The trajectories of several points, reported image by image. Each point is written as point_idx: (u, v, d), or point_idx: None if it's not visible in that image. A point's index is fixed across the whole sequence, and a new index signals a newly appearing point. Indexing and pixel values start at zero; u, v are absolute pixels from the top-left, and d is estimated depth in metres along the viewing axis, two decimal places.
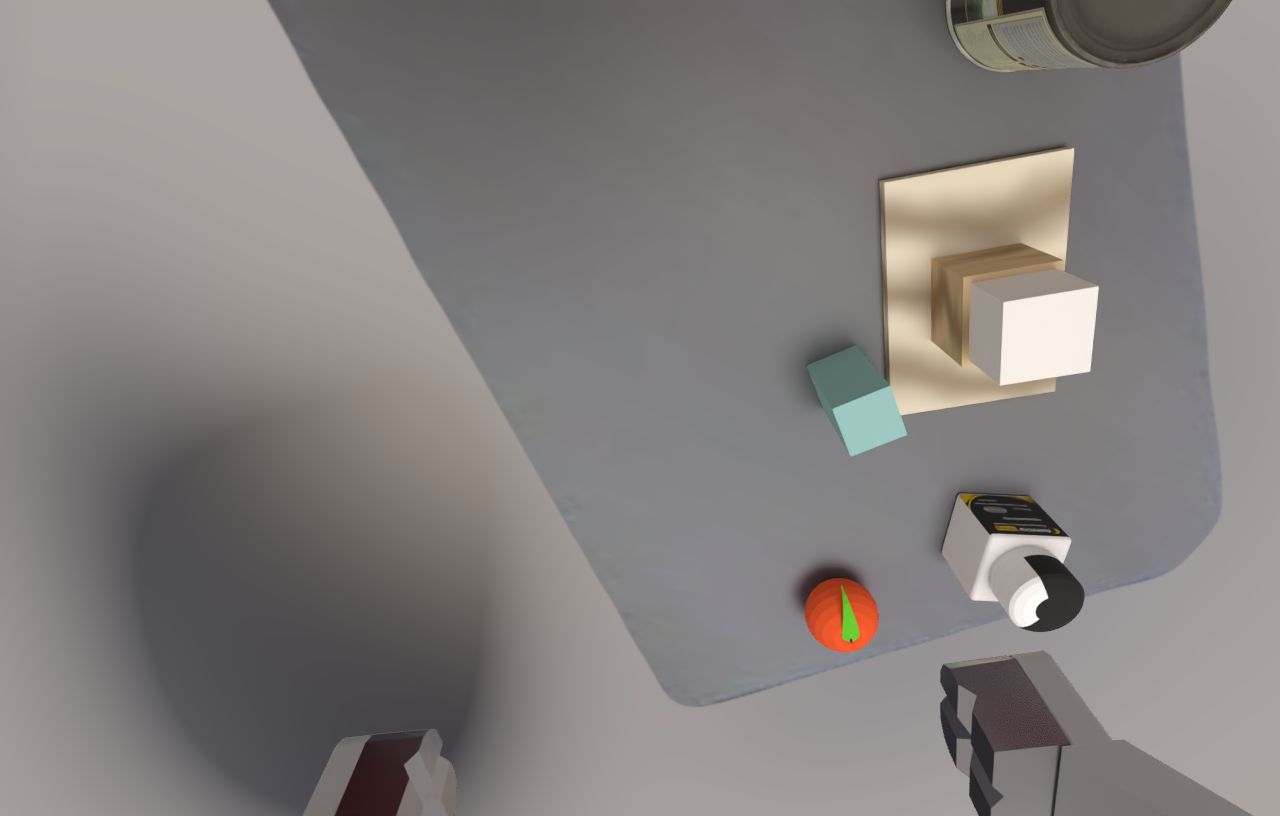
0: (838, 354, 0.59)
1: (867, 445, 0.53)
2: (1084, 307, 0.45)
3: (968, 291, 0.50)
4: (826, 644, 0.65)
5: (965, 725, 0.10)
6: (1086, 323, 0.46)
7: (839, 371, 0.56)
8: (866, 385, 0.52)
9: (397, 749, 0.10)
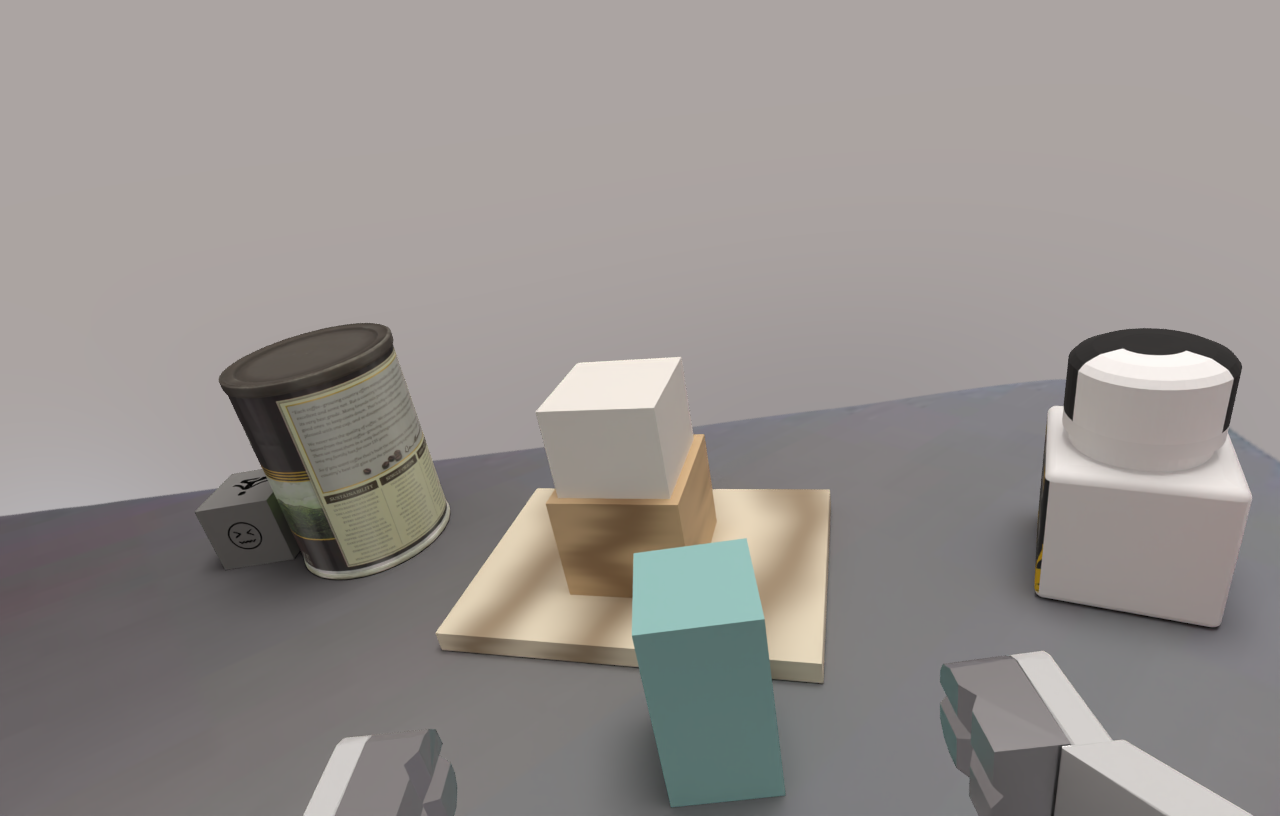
0: None
1: (745, 591, 0.24)
2: (594, 367, 0.37)
3: (568, 499, 0.35)
4: None
5: (965, 725, 0.10)
6: (615, 364, 0.37)
7: None
8: None
9: (397, 749, 0.10)
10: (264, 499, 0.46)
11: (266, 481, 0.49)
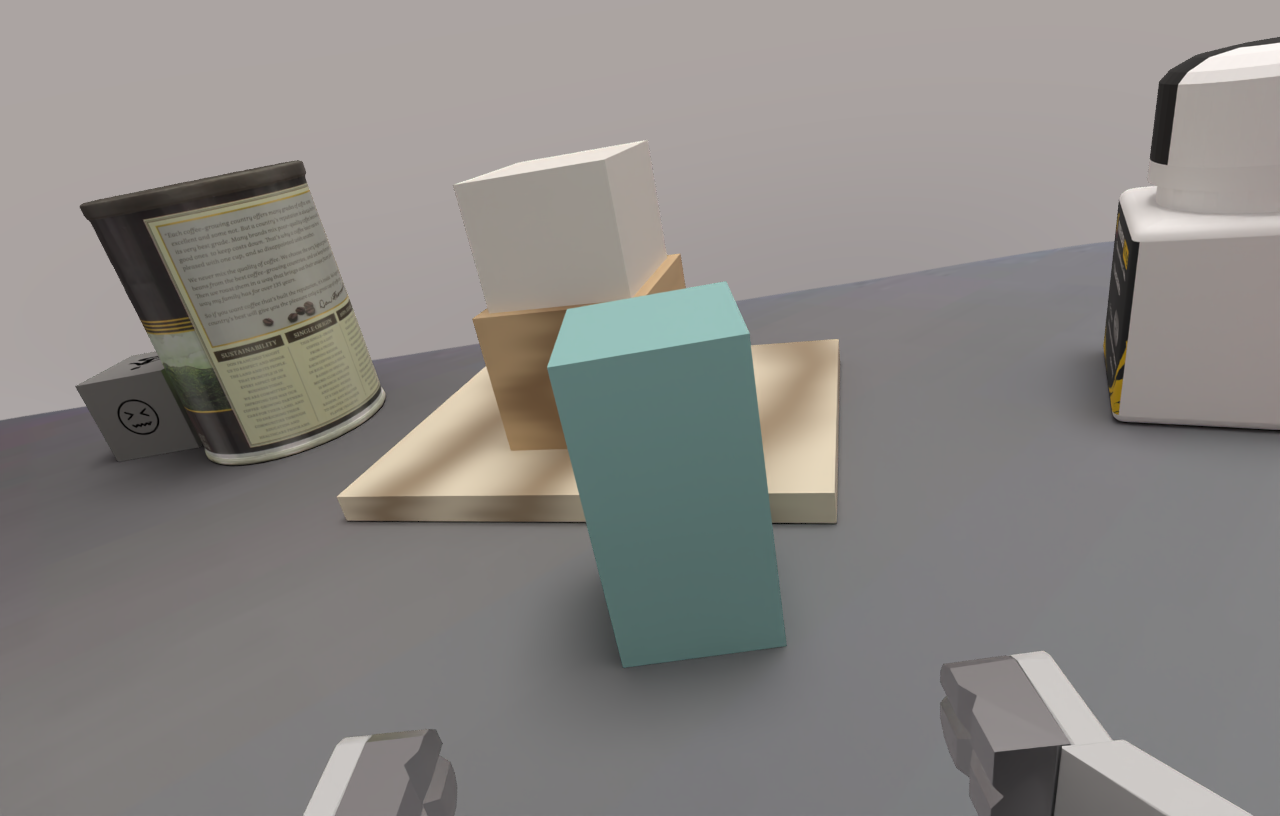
0: None
1: (722, 316, 0.16)
2: (538, 160, 0.29)
3: (501, 313, 0.27)
4: None
5: (965, 725, 0.10)
6: (565, 155, 0.29)
7: None
8: None
9: (397, 749, 0.10)
10: (158, 370, 0.39)
11: None
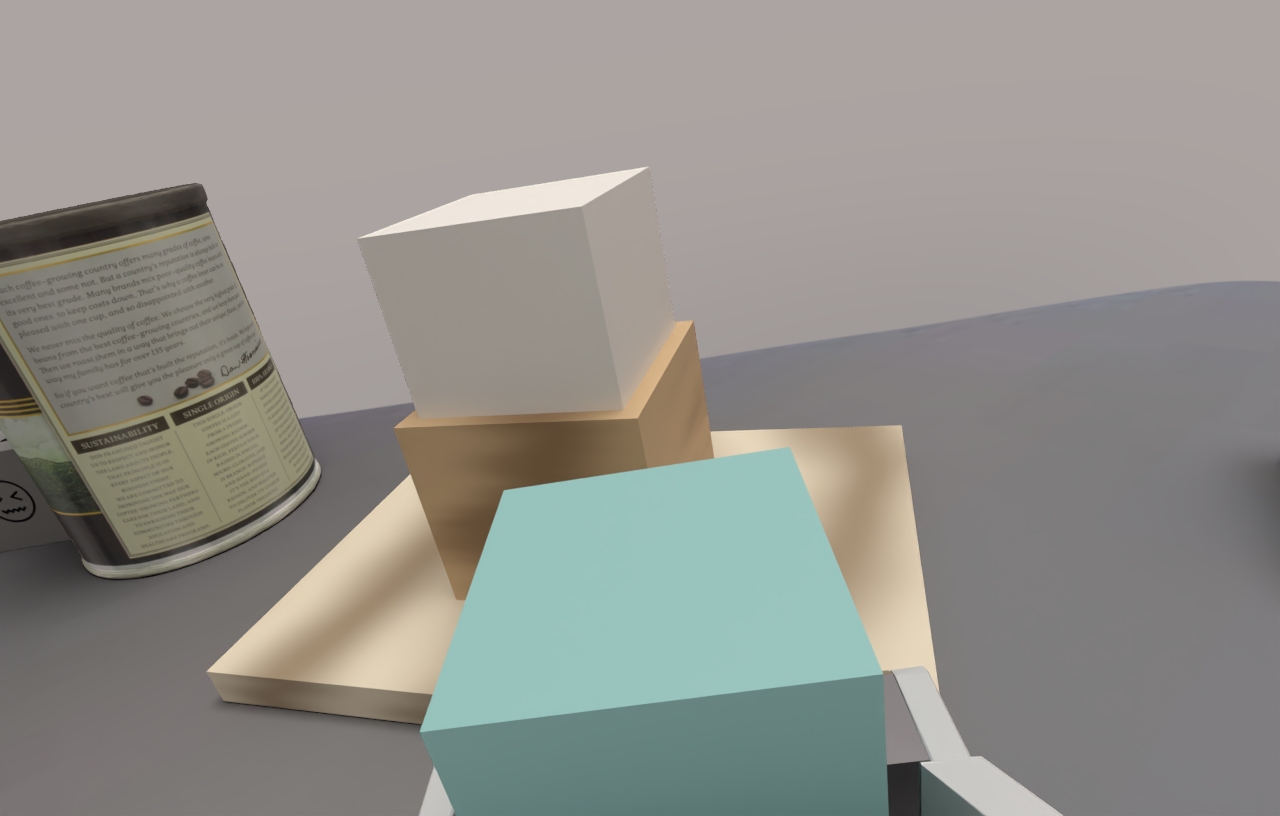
0: None
1: (804, 579, 0.08)
2: (495, 193, 0.21)
3: (436, 420, 0.19)
4: None
5: None
6: (533, 187, 0.21)
7: None
8: None
9: None
10: None
11: None
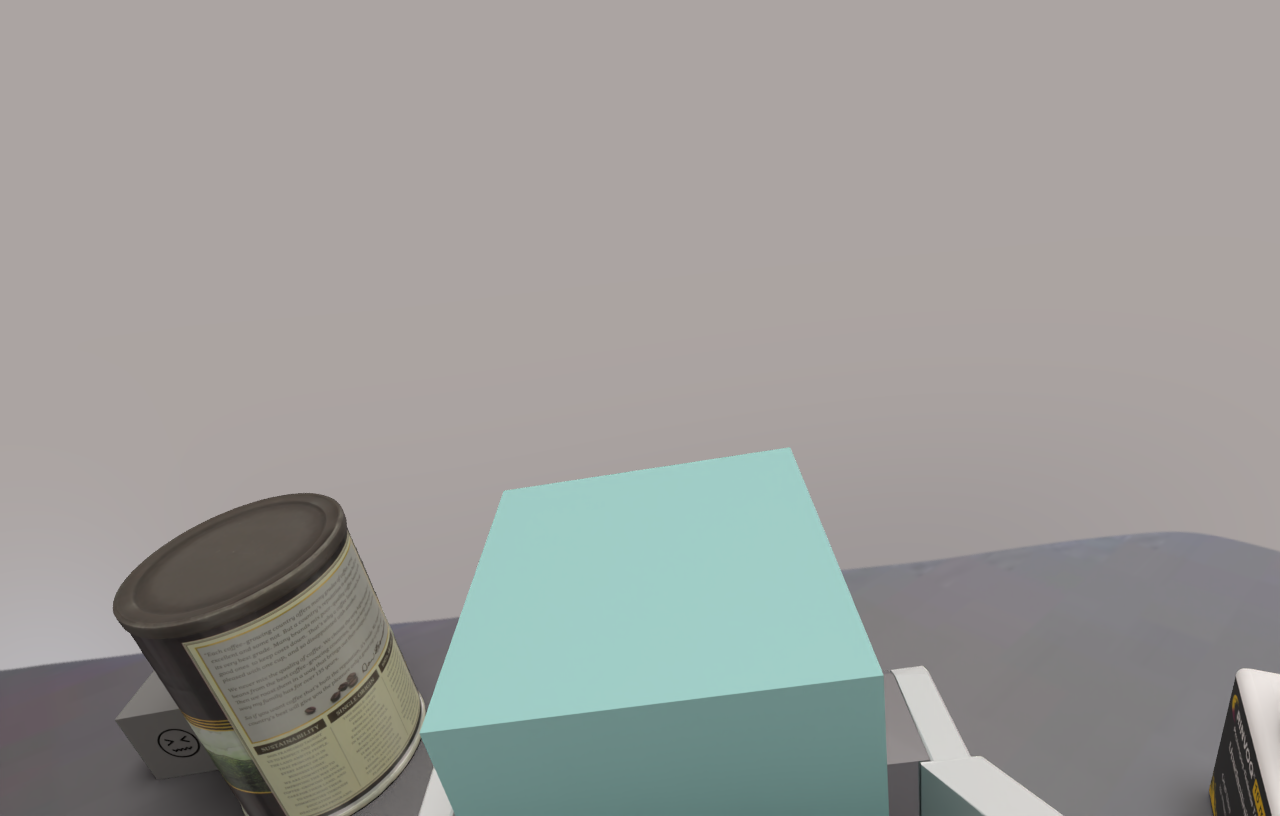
0: None
1: (804, 581, 0.08)
2: None
3: None
4: None
5: None
6: None
7: None
8: None
9: None
10: None
11: None
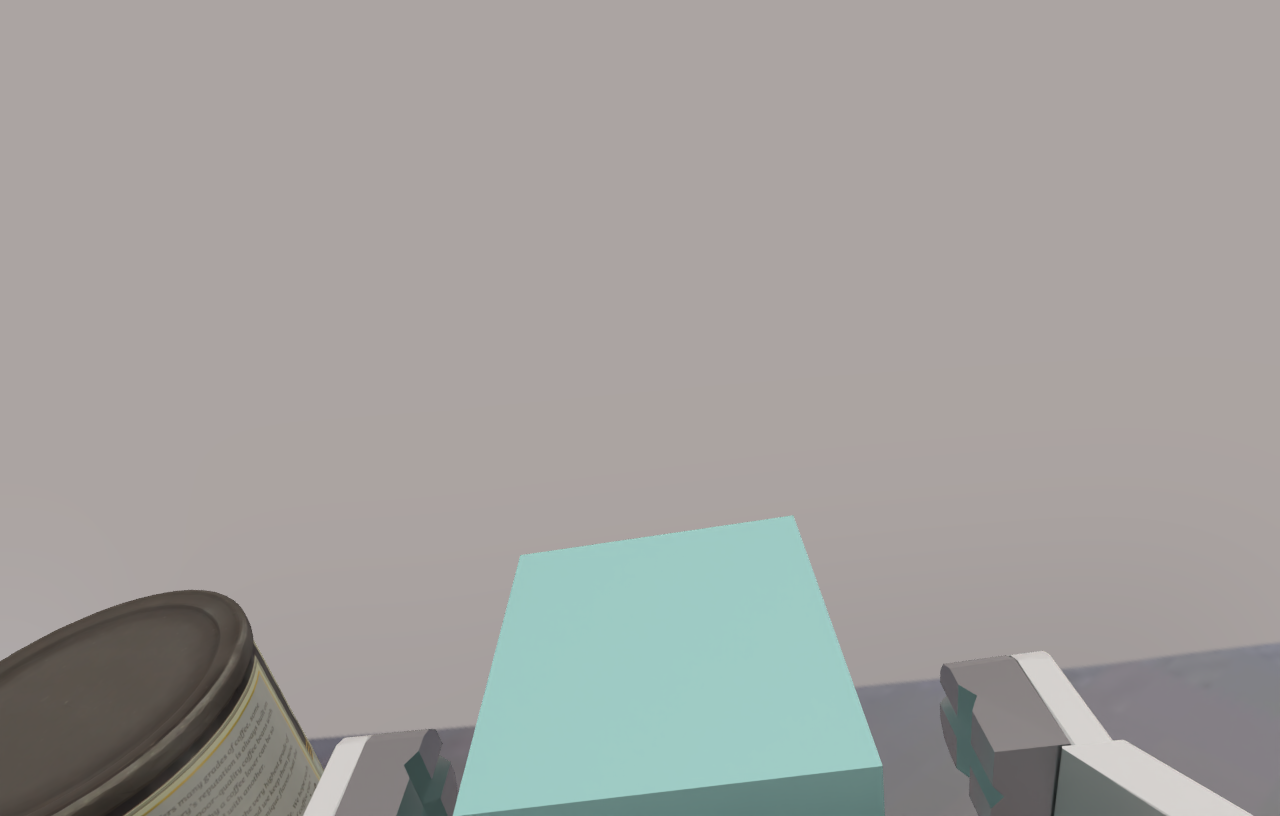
0: None
1: (808, 661, 0.08)
2: None
3: None
4: None
5: (965, 725, 0.10)
6: None
7: None
8: None
9: (397, 749, 0.10)
10: None
11: None
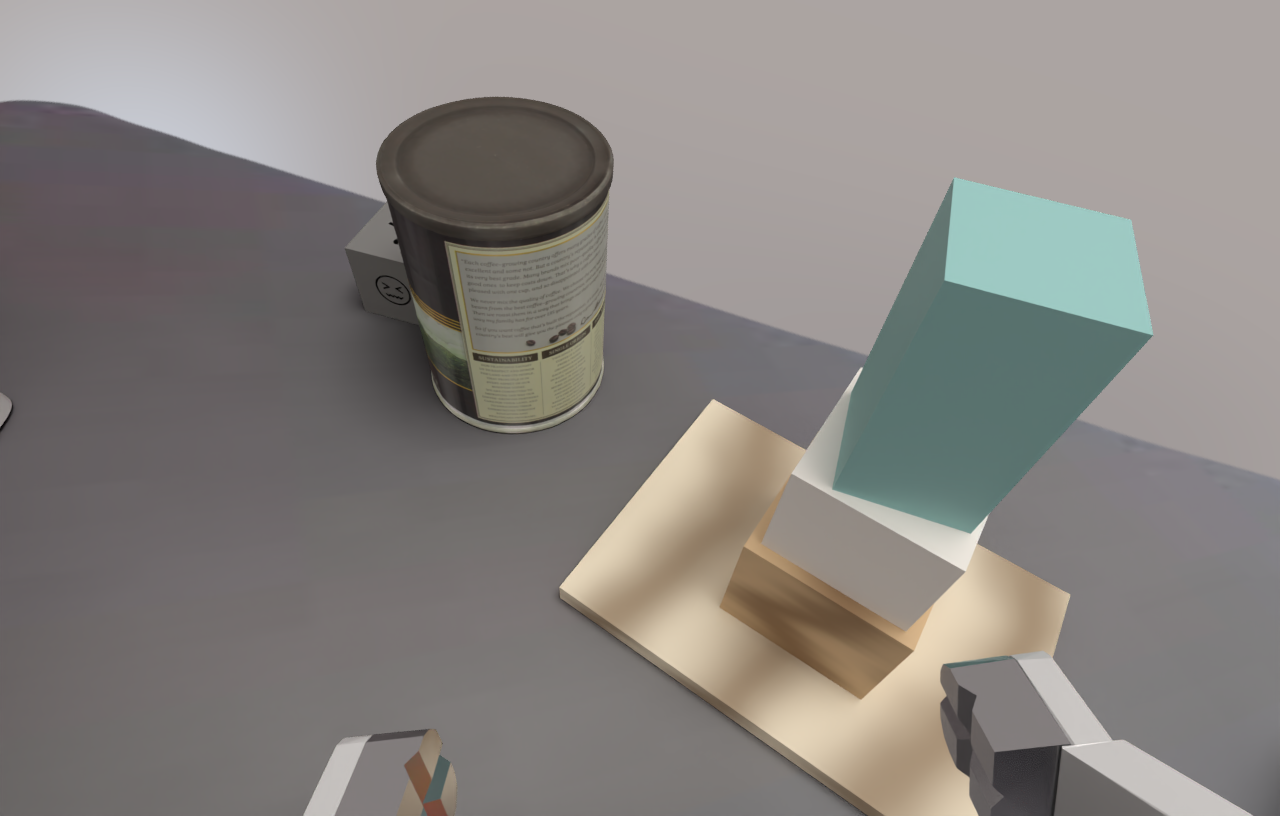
0: (847, 419, 0.24)
1: (1126, 288, 0.16)
2: None
3: (773, 554, 0.27)
4: None
5: (965, 725, 0.10)
6: None
7: (874, 376, 0.21)
8: (929, 250, 0.19)
9: (397, 749, 0.10)
10: None
11: None
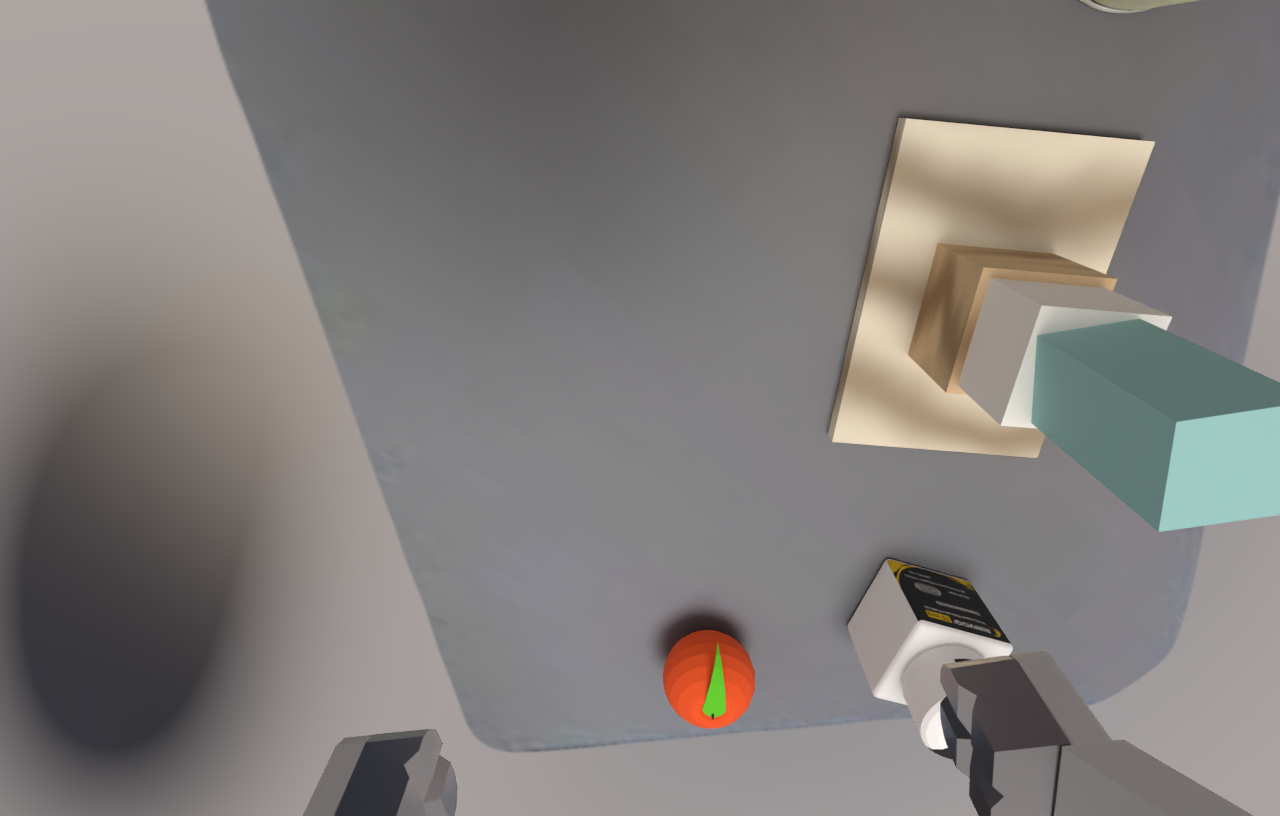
0: (1106, 327, 0.31)
1: (1202, 516, 0.25)
2: None
3: (984, 289, 0.35)
4: (680, 713, 0.50)
5: (965, 725, 0.10)
6: None
7: (1133, 354, 0.28)
8: (1240, 390, 0.24)
9: (397, 749, 0.10)
10: None
11: None
